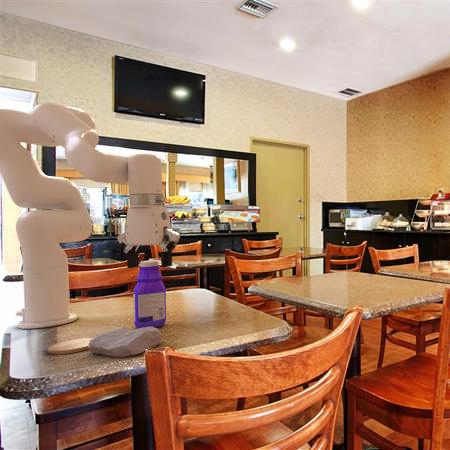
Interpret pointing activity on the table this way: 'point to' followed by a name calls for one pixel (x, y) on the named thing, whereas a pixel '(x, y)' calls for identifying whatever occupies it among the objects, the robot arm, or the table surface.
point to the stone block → (125, 341)
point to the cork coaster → (70, 346)
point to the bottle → (149, 297)
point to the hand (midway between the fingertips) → (150, 267)
